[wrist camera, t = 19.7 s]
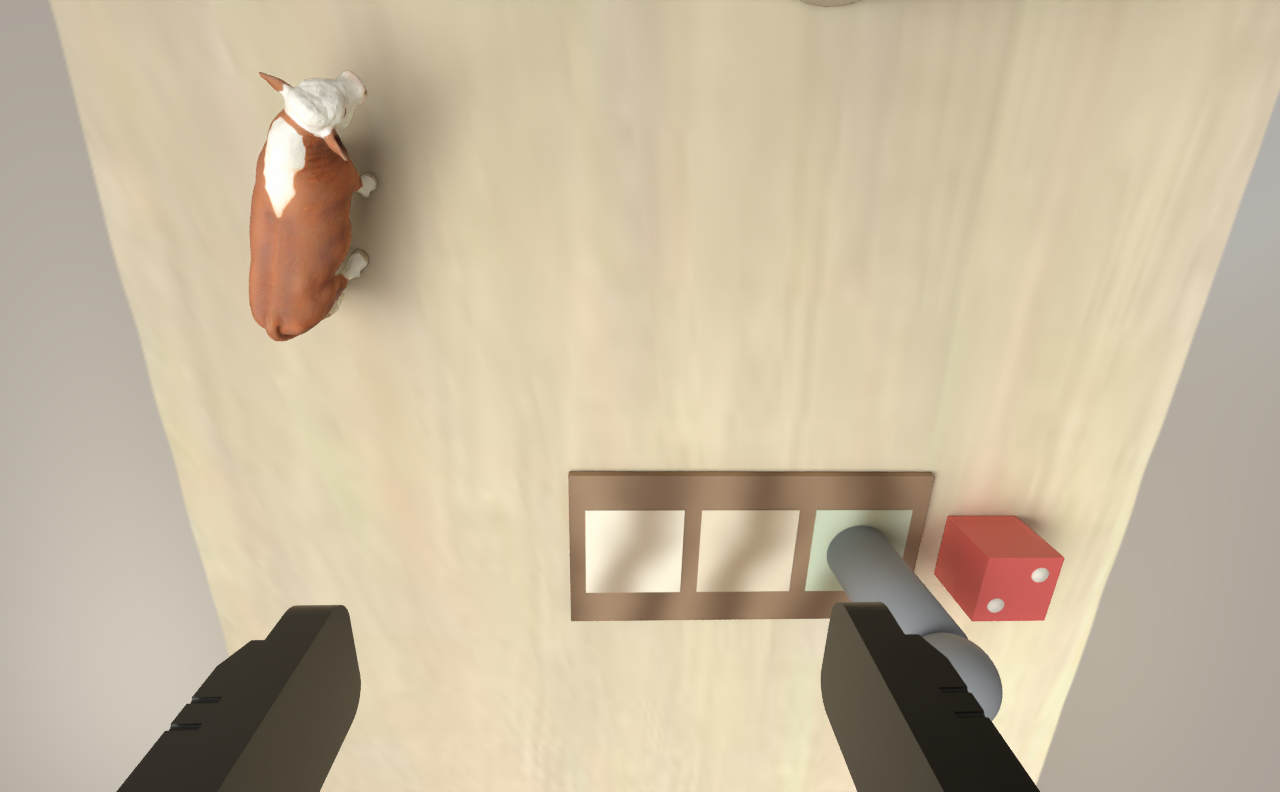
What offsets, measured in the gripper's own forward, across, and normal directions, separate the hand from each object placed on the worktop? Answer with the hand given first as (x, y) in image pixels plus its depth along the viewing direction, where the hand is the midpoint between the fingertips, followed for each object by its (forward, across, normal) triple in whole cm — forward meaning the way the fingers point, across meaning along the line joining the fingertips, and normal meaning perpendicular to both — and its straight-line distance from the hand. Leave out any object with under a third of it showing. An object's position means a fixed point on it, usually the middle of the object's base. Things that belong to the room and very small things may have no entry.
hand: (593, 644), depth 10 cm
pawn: (+27, -18, +18) cm, 37 cm away
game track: (+28, -10, +18) cm, 35 cm away
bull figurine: (+28, +15, -5) cm, 32 cm away
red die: (+28, -27, +18) cm, 43 cm away
